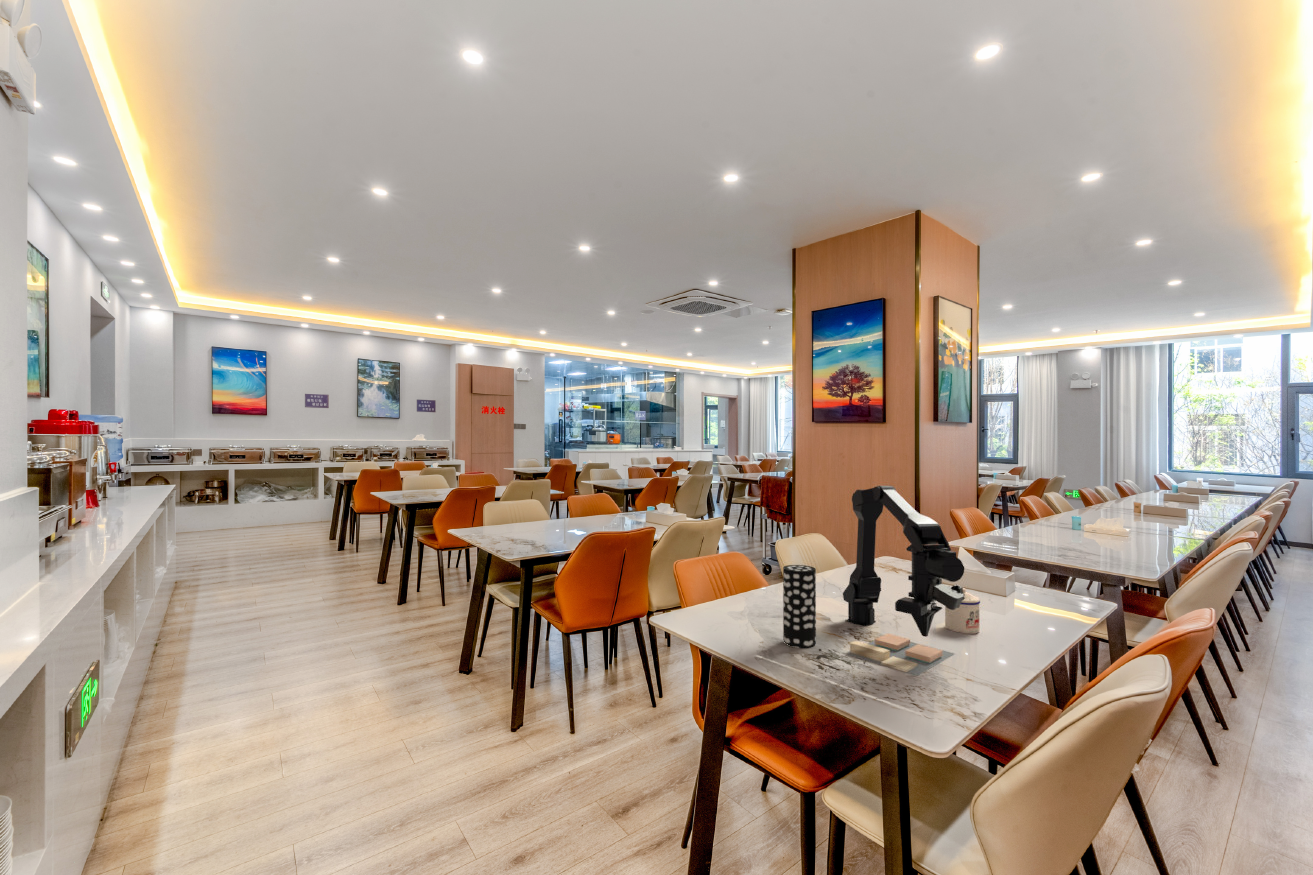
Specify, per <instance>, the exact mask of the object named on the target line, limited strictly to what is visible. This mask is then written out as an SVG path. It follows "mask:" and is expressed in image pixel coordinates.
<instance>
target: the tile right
mask: <svg viewBox="0 0 1313 875" xmlns="http://www.w3.org/2000/svg"><path fill="white" fill-rule="evenodd" d="M917 644H918V645H916V646H914V647H912V648H910V649H908V650H906V651H905V656H907V657H908V658H912V659H915V660H918V661H922V662H925V663H929V664H930V663H932V662H933V661H935V660H937V659H939V658H940V657H941V656H943V651H942V650H943V649H940V650H938V649H939V648H936V649H935V647H932V646H929V647H927V646H928V645H925V646H923V645H924V644H921V643H917ZM920 644H921V645H920ZM931 647H932V648H931Z"/></svg>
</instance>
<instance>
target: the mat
mask: <svg viewBox="0 0 1313 875" xmlns="http://www.w3.org/2000/svg"><path fill="white" fill-rule="evenodd" d="M867 644H869V645H873V646H876V647H880V646H877V644H875V639H874V640H872V641H870V642H868V643H867ZM918 644H920V645H923V646H927V647H931V648H933V647H932V646H928V645H924V644H922V643H916V642H912V641H910V644H909V646H907V647H904V648H902V649H900V650H898V651H894V650H891V649H887V648H884V647H880V648H884V649H887V650H890V657H892V656H894V657H897V658H900V659H904V660H907V661H911V662H914V663H917V667H915V668H913V669H911V670H909V671H907V672H904V671H901V670H898V669H894V668H891V667H888V666H885V665H881V662H880V661H877V660H873V659H870V658H867V657H863V656H860V655H857V654H854V653H850V650H849V651H847V652H845V653H844V654H845V655H848V656H851V657H855V658H856V659H860V660H864V661H867V662H871V663H874V664H877V665H880V666H883V667H887V668H890V669H892V670H895V671H899V672H903V673H905V674H906V673H907V674H909V675H912V676H916V677H918V676H919V675H921V674H923V673H924V672H926V671H928V670H930V669H932V668H934V666H937V665H939V664H940V663H942V662H944V661H945V660H947V659H949V658H951V657H953V656H954V655H955V654H956V653H954V652H951V651H947V650H943V649H940V648H935V647H934V648H935V649H938V650H942V651H943V656H941V657H940V658H939V659H937V660H935V661H933V662H932V663H930V664H929V663H925V662H922V661H918V660H915V659H912V658H908V657H907V656H905V651H906V650H908V649H910V648H912V647H914V646H916V645H918Z"/></svg>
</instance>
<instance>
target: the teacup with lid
mask: <svg viewBox="0 0 1313 875" xmlns="http://www.w3.org/2000/svg"><path fill="white" fill-rule="evenodd" d="M962 588H963V594H965V595H964V598H965V599H964V600H962V602H961V604H960V607H959V608H956V609H955V610H950V609H948V608H947V607H946V606H944V617H945V618H944V622H945V623H944V626H945V628H946V629H947V630H949V631H952V632H956V633H960V634H966V635H972V634H973V635H974V634H978V633H979V632H980V604H981V601H980V600H981V599H979V598H980V597H977V596H975V595H972V594H971V593H970V592H967V589H966V588H964V587H962Z"/></svg>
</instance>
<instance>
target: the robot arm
mask: <svg viewBox="0 0 1313 875" xmlns="http://www.w3.org/2000/svg"><path fill="white" fill-rule="evenodd" d="M851 502H852V510H853V512H854V514H855V516H856V517H857V539H856V540H857V541H856V565H855V568H854V570H853V571H852V572H851V573H850V576H849V581H848V585H847V587H846V588H845V589H844V590H843V592H842V597H843V601H844V602H846V603H847V605H848V608H847V609H848V611H847V612H848V613H847V614H848V618H847V619H845V622H846V623H850V624H854V625H858V626H861V627H868V626H871V625H872V624H875V623H877V620H875V619H876V618H875V615H876V614H875V612H876V610H875V608H874V603H876V604H878V603H879V599H880V594H881V592H882V579H881V577H880V576H878V574H877V573H876V570H875V563H876V562H875V561H876V560H875V558H876V537H877V536H876V535H877V520H878V519H879V518H880V516H881V515H882V513H883V510H884V507H885V508H886V509H887V510H888V512H890V514H891V515H892V516H894V518H895V519H896V520H897V521H898V522H899V523H900V524H901V526H902V532H903V534H904V536H905V537H906V539H907V540H908V542H909V543H910V545H908V546H907V547H906V551H907V552H910V553H911V574H910V575H908V581H911V591H909V592H908V593H907V594H908V596H904V597H902V598H899V599H898V600H896V601H895V602H894V610H895V611H896V612H899V613H904V614H907V615H911V617H912V619H913V620H914V623H915V625H916V627H917V628H918V630H919V632H920V634H921V636H923V637H924V638H925V637H928V635H929V633H930V630H931V626H932V622H933V619H934V617H935V615H936V614H937V613H938V612H940V611H941V610H943V607H942V606H944V607H945V606H946V607H947V608H948V609H950V610H955V609H956V608H959V607H960V604H961V602H962V600H964V599H965V598H964V595H965V594H963V588H964V587H962V585H959V584H953V585H952V586H951V587H950V585H945V584H943V580H945V581H948V582H949V583H950V582H951V583H956V582H958V581H959V580H961V579H962V578H963V576H964V573H965V566H964V563H963V561H962V560H961V559H960V558H959V557H957V552H956V551H953V550H952V549H951V546H950V543H949V541H948V540H947V538H946V537H945V534H944V532H943V530H942V527H941V526H940V524H939V523H938V522H937V521H935V520H934V519H932V518H931V517H929V516H926V515H924V514H921V513H919V512H918V511H917V510H915V508H914V507H913V506H911V505H910V504H909V503H908V501H906V500H905V499H904V497H903V496H902V495H901V494H899V492H897V488H895V487H894V486H892V485H877V486H874V487H872V488H866V489H856V490H855V491H854V492H853V493H852V496H851ZM937 602H938V603H939V604H941V605H942V606H937V604H938V603H937Z"/></svg>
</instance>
